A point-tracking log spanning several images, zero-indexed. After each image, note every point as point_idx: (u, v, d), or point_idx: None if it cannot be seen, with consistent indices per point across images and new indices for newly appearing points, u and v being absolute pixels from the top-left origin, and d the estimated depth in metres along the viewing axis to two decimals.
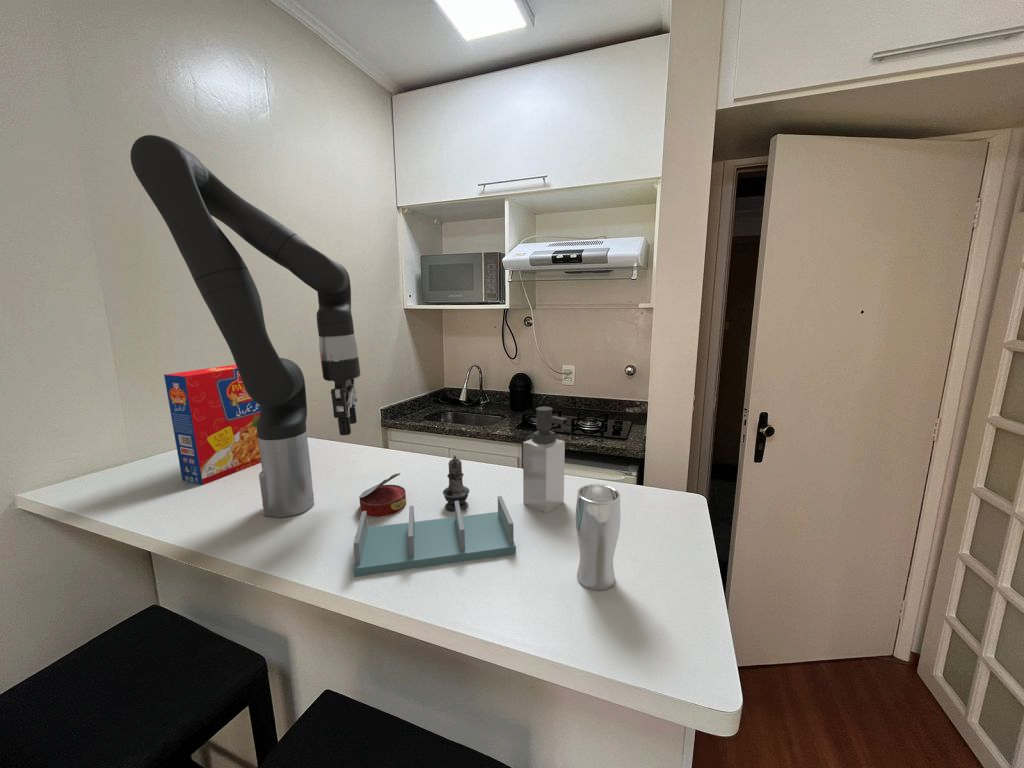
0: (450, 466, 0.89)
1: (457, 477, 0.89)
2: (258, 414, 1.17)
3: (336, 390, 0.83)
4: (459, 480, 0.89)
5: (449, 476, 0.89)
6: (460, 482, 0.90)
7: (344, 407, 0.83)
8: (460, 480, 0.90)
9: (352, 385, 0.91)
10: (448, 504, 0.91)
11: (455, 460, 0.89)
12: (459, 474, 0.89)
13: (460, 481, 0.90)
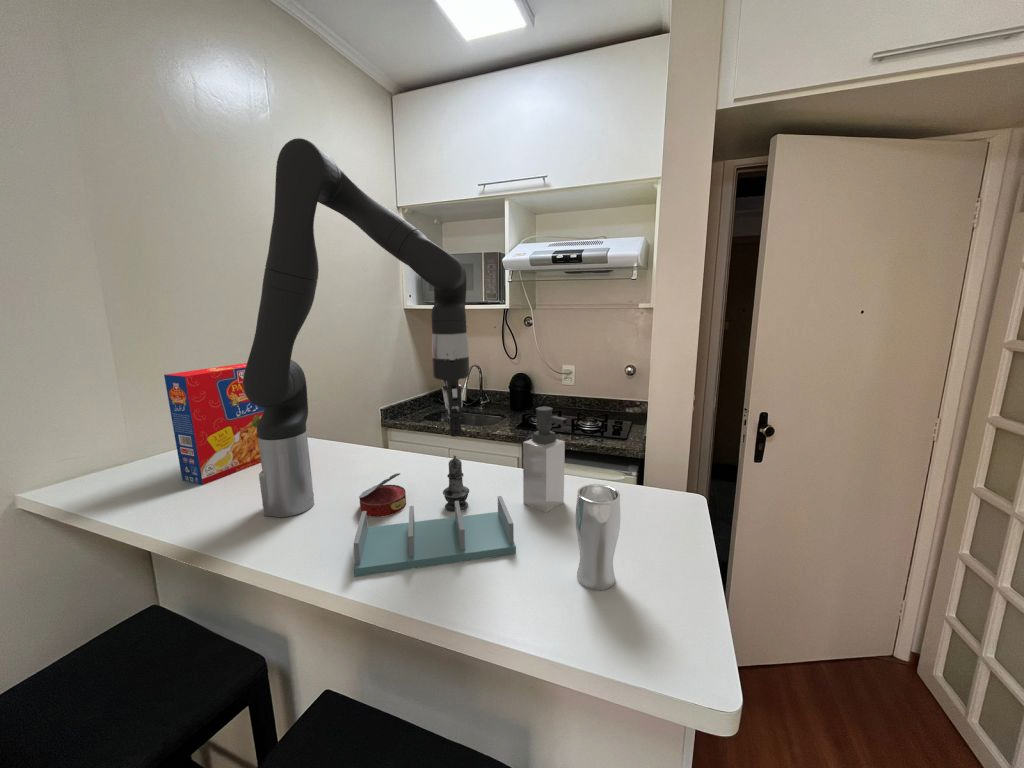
0: (450, 466, 0.89)
1: (457, 477, 0.89)
2: (258, 414, 1.17)
3: (453, 390, 0.80)
4: (459, 480, 0.89)
5: (449, 476, 0.89)
6: (460, 482, 0.90)
7: (460, 407, 0.81)
8: (460, 480, 0.90)
9: (459, 385, 0.88)
10: (448, 504, 0.91)
11: (455, 460, 0.89)
12: (459, 474, 0.89)
13: (460, 481, 0.90)
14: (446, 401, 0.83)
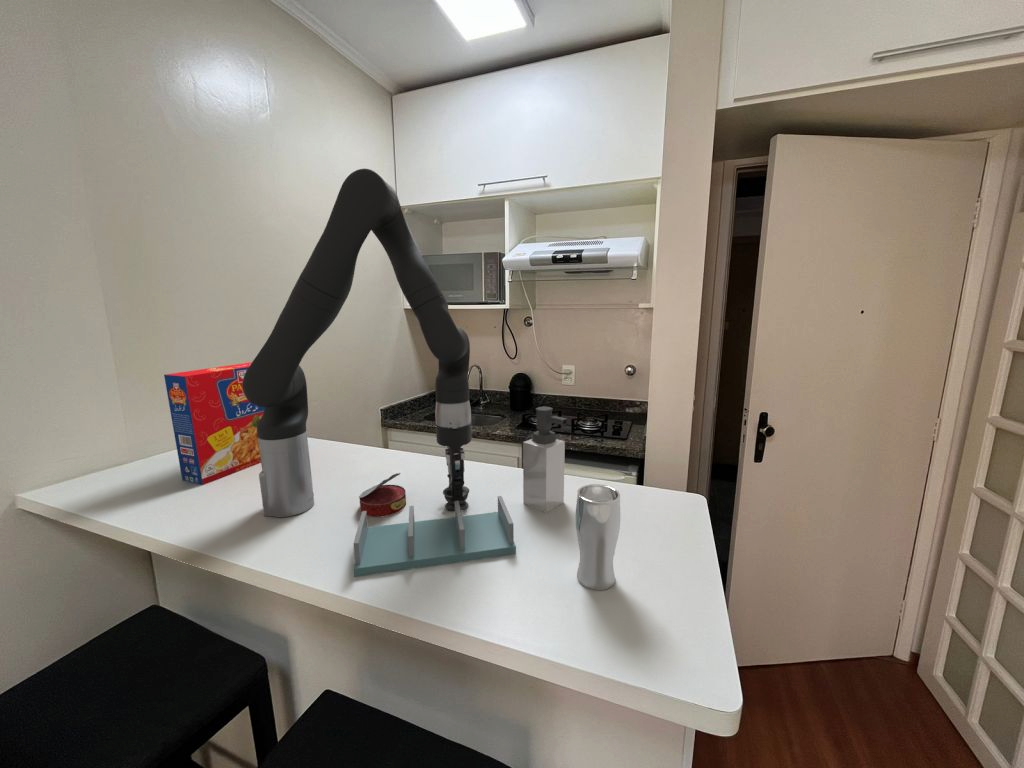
0: (450, 466, 0.89)
1: (457, 477, 0.89)
2: (258, 414, 1.17)
3: (456, 462, 0.83)
4: None
5: (449, 476, 0.89)
6: None
7: (462, 477, 0.84)
8: None
9: None
10: (448, 504, 0.91)
11: None
12: None
13: None
14: (449, 468, 0.87)
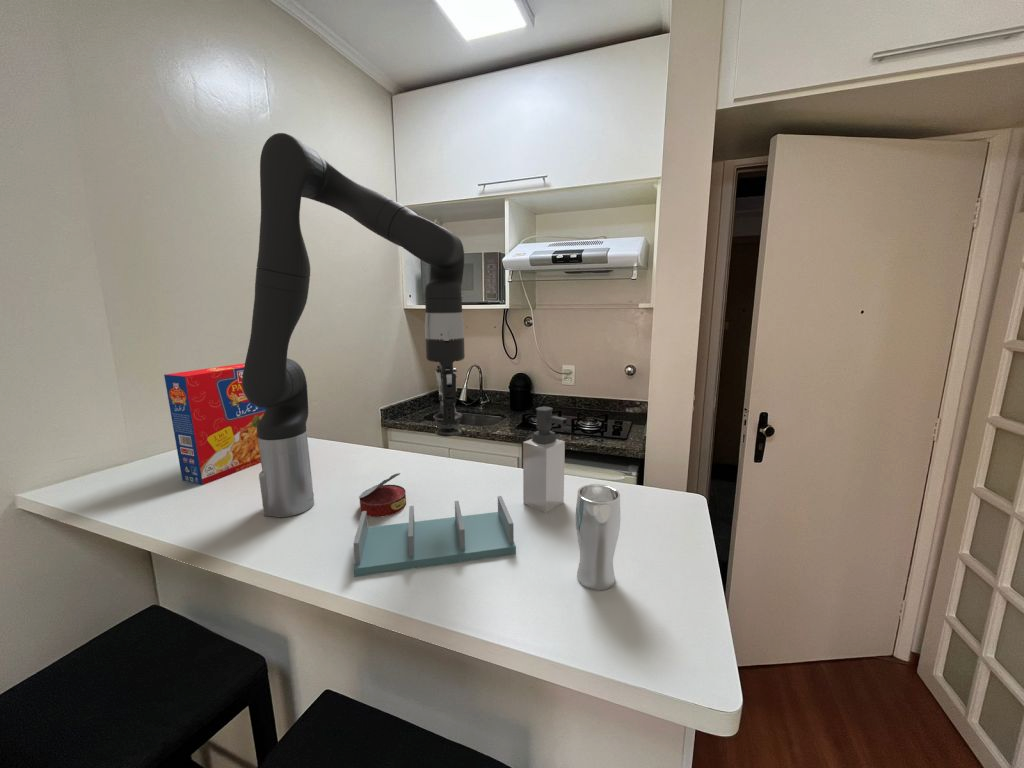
0: None
1: None
2: (258, 414, 1.17)
3: (448, 376, 0.75)
4: None
5: (440, 397, 0.82)
6: None
7: (454, 394, 0.77)
8: None
9: (454, 368, 0.83)
10: (439, 430, 0.84)
11: None
12: (451, 395, 0.82)
13: None
14: (440, 386, 0.79)
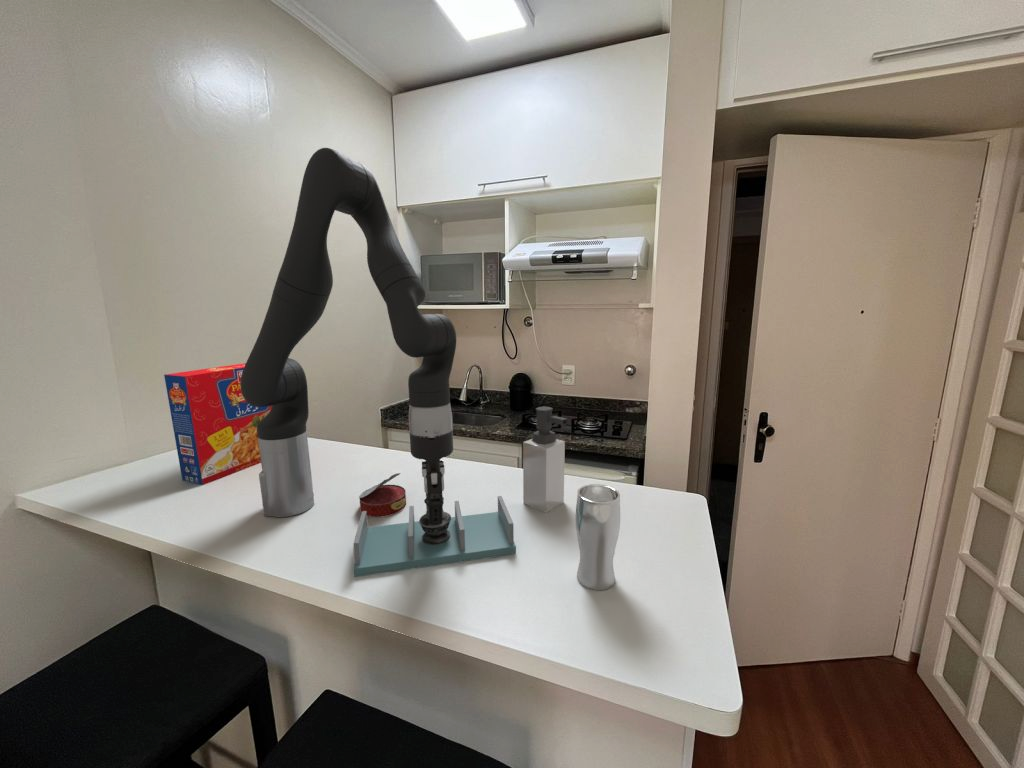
0: None
1: None
2: (258, 414, 1.17)
3: (432, 475, 0.68)
4: None
5: (426, 501, 0.75)
6: None
7: (441, 495, 0.68)
8: None
9: (442, 460, 0.75)
10: (426, 534, 0.77)
11: None
12: None
13: None
14: (425, 484, 0.71)
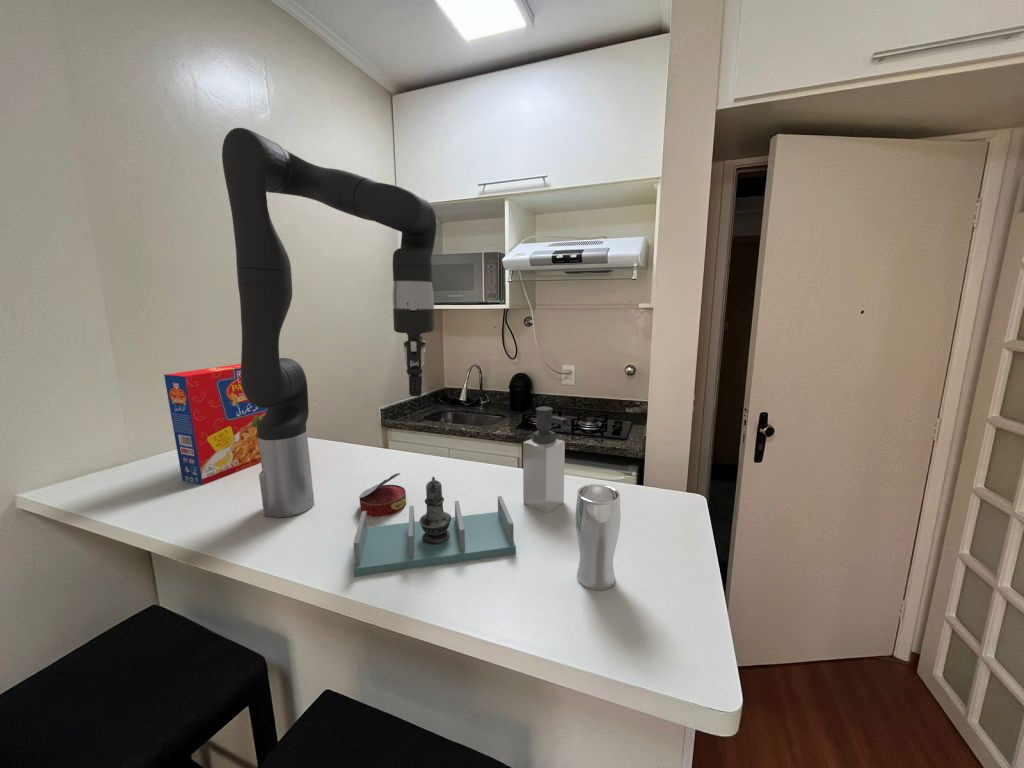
0: (428, 490, 0.74)
1: (436, 503, 0.74)
2: (258, 414, 1.17)
3: (412, 342, 0.72)
4: (439, 507, 0.75)
5: (426, 502, 0.74)
6: (440, 509, 0.75)
7: (419, 362, 0.72)
8: (440, 506, 0.75)
9: (423, 341, 0.80)
10: (426, 534, 0.77)
11: (434, 483, 0.74)
12: (438, 499, 0.74)
13: (440, 507, 0.75)
14: (406, 356, 0.75)
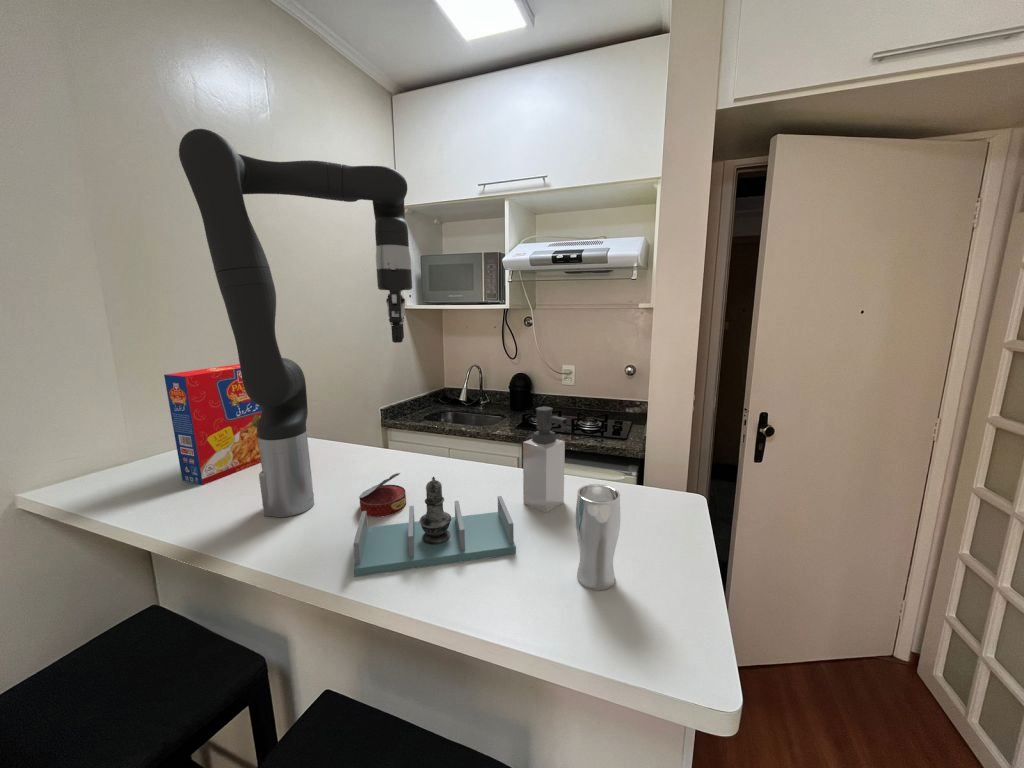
0: (428, 490, 0.74)
1: (436, 503, 0.74)
2: (258, 414, 1.17)
3: (393, 295, 0.86)
4: (439, 507, 0.75)
5: (427, 502, 0.74)
6: (440, 509, 0.75)
7: (399, 312, 0.87)
8: (440, 506, 0.75)
9: None
10: (426, 534, 0.77)
11: (434, 483, 0.74)
12: (439, 499, 0.74)
13: (440, 507, 0.75)
14: (388, 309, 0.90)
